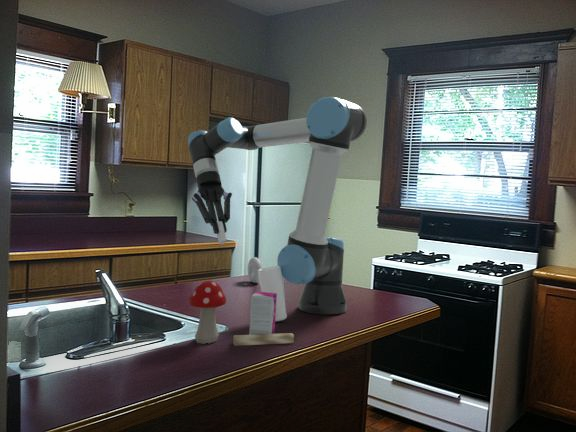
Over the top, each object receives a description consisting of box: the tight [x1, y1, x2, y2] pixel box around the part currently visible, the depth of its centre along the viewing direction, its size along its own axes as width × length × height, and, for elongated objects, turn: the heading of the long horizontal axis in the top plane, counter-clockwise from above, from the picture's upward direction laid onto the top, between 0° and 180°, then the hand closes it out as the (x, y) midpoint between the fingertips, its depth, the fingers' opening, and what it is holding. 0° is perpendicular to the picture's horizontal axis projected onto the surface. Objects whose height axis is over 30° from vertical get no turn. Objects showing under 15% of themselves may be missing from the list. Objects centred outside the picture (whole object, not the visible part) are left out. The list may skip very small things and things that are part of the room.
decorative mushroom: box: [189, 280, 227, 345], centre depth 142 cm, size 10×9×15 cm
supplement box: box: [248, 291, 277, 335], centre depth 146 cm, size 6×6×12 cm
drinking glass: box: [258, 265, 288, 323], centre depth 163 cm, size 7×7×15 cm
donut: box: [247, 256, 263, 284], centre depth 220 cm, size 10×4×10 cm, turn 23°
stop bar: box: [232, 332, 295, 347], centre depth 142 cm, size 15×2×2 cm, turn 106°
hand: (222, 242), depth 173 cm, fingers closed
